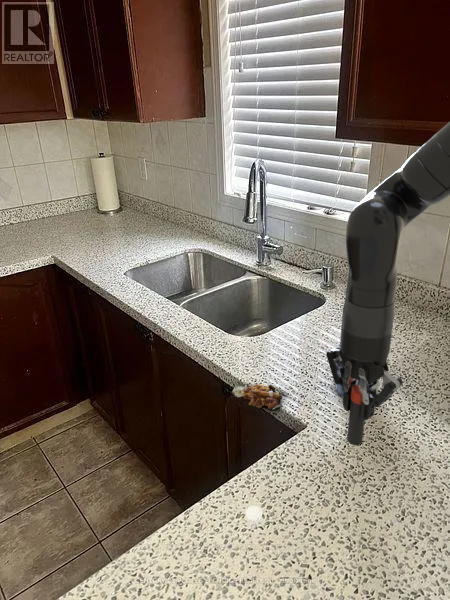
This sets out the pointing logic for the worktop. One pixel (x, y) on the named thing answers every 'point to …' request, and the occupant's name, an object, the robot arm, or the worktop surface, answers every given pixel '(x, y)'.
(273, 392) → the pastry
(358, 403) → the marker
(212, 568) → the worktop surface
